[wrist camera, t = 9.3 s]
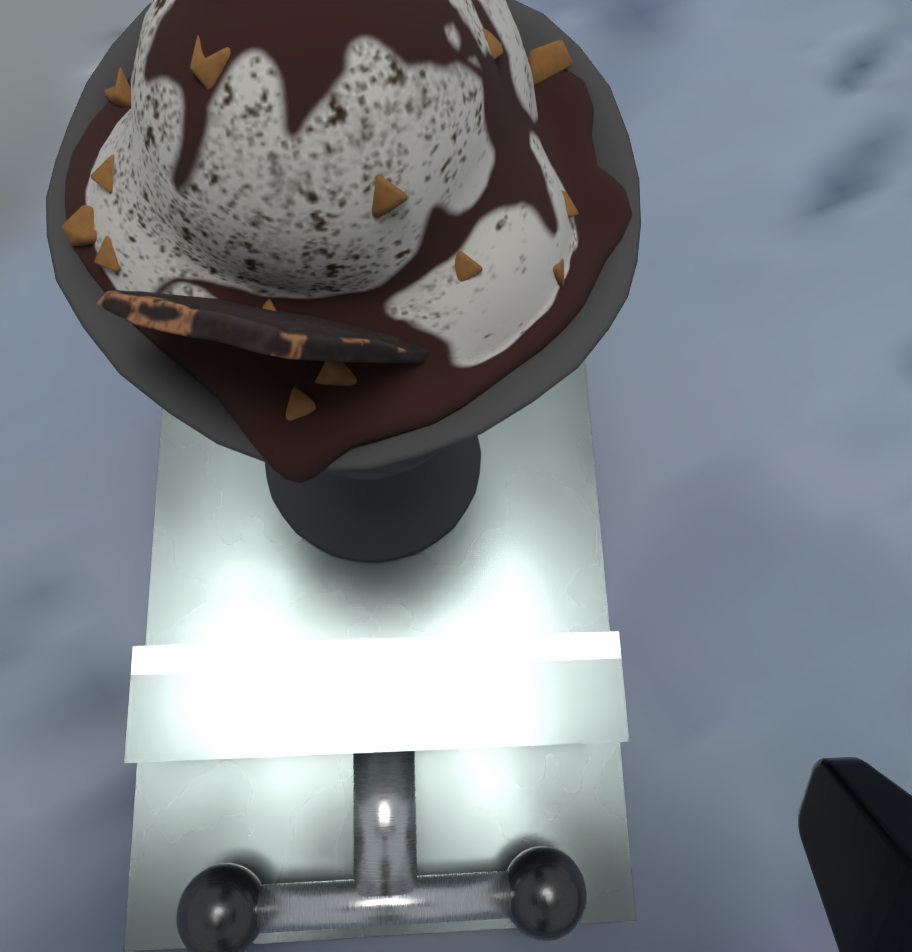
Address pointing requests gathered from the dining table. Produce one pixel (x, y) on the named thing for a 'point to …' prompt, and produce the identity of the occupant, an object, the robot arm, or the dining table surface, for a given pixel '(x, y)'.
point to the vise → (379, 710)
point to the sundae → (347, 239)
